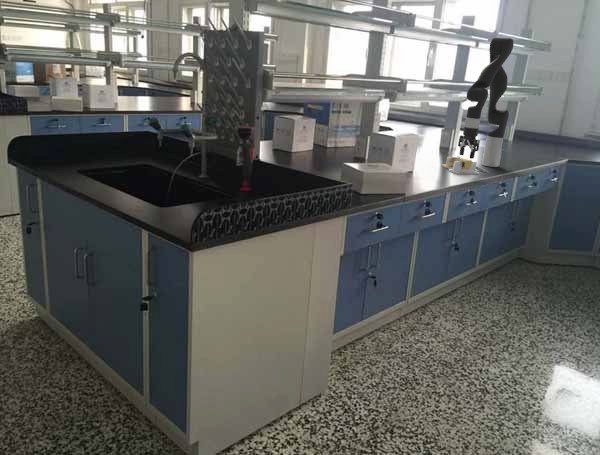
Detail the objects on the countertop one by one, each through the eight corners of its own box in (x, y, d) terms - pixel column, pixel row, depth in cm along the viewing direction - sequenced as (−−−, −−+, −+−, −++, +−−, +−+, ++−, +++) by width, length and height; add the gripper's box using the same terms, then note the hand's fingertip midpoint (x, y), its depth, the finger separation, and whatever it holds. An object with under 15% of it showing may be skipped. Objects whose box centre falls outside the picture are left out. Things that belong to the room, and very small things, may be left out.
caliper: (453, 166, 302) (455, 155, 300) (454, 166, 303) (455, 155, 301) (488, 173, 291) (490, 162, 289) (488, 173, 291) (491, 162, 289)
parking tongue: (452, 166, 302) (454, 155, 300) (461, 169, 294) (463, 158, 293) (441, 166, 299) (443, 155, 297) (449, 169, 292) (451, 158, 290)
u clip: (464, 166, 288) (465, 158, 287) (470, 168, 283) (472, 160, 282) (458, 166, 286) (459, 158, 285) (464, 168, 281) (466, 160, 280)
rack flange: (469, 170, 292) (471, 160, 290) (478, 174, 285) (480, 163, 283) (448, 170, 287) (450, 160, 285) (457, 174, 280) (459, 163, 278)
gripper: (486, 128, 273) (480, 159, 278) (468, 124, 286) (463, 154, 291) (474, 128, 270) (469, 159, 276) (457, 124, 283) (452, 154, 288)
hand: (466, 156), depth 283 cm, fingers open, 8 cm apart
